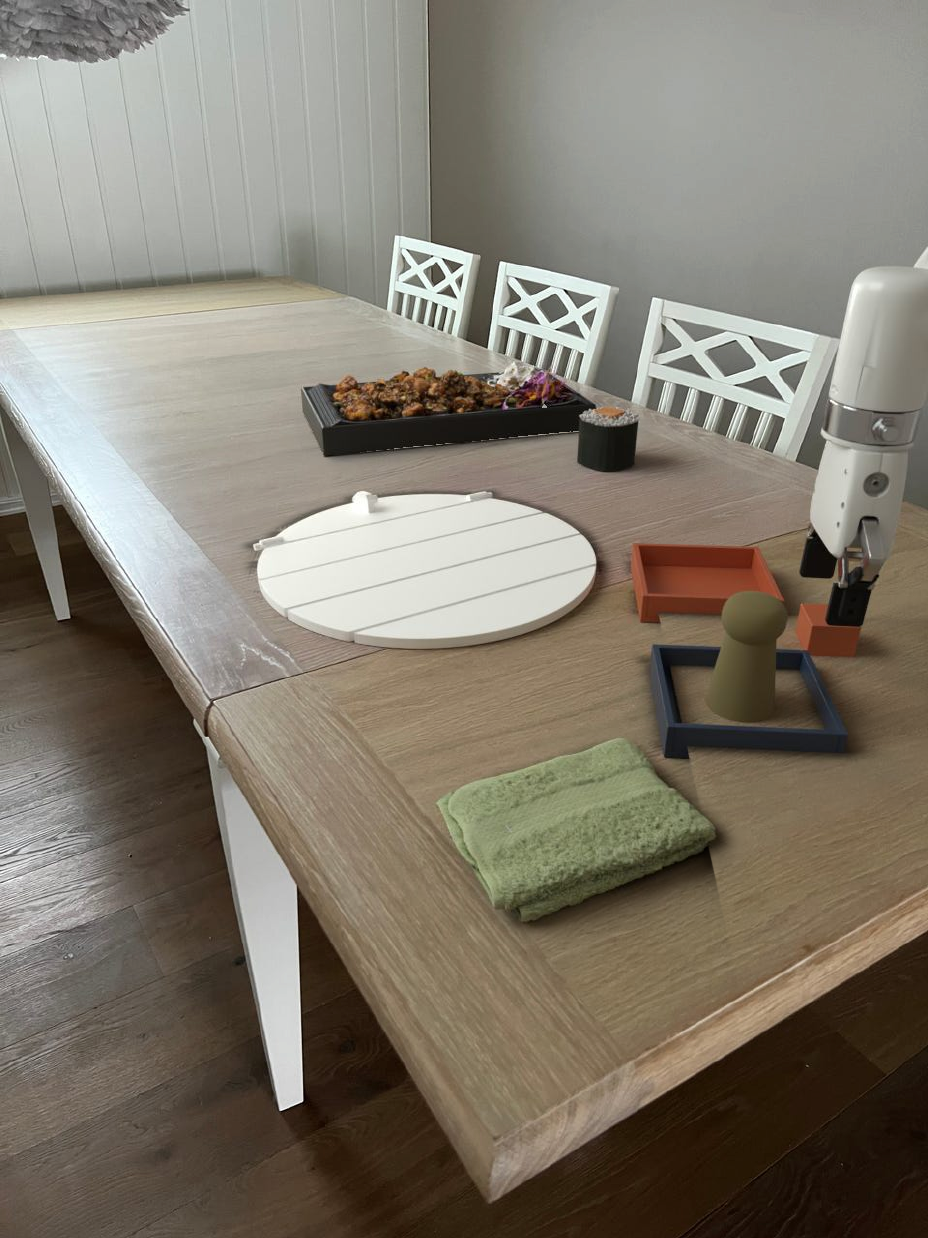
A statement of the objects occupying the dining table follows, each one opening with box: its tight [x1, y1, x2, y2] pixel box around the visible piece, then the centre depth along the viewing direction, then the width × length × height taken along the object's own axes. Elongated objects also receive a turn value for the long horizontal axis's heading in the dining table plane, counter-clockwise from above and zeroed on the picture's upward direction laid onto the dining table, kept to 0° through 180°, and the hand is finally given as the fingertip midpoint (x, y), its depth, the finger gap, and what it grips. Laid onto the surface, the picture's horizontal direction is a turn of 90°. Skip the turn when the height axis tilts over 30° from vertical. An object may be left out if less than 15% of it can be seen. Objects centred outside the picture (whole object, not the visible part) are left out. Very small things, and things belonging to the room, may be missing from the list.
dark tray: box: [648, 643, 849, 759], centre depth 81 cm, size 14×13×3 cm
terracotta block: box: [794, 603, 862, 658], centre depth 89 cm, size 4×4×4 cm
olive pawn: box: [704, 591, 788, 724], centre depth 78 cm, size 6×6×11 cm
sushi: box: [576, 405, 640, 472], centre depth 137 cm, size 8×8×8 cm
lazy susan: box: [252, 490, 597, 650], centre depth 108 cm, size 40×39×3 cm
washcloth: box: [435, 737, 717, 923], centre depth 67 cm, size 13×18×3 cm
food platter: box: [300, 360, 597, 457], centre depth 155 cm, size 45×25×10 cm, turn 106°
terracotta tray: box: [630, 542, 785, 624], centre depth 101 cm, size 14×13×3 cm
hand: (828, 599), depth 87 cm, fingers open, 9 cm apart
